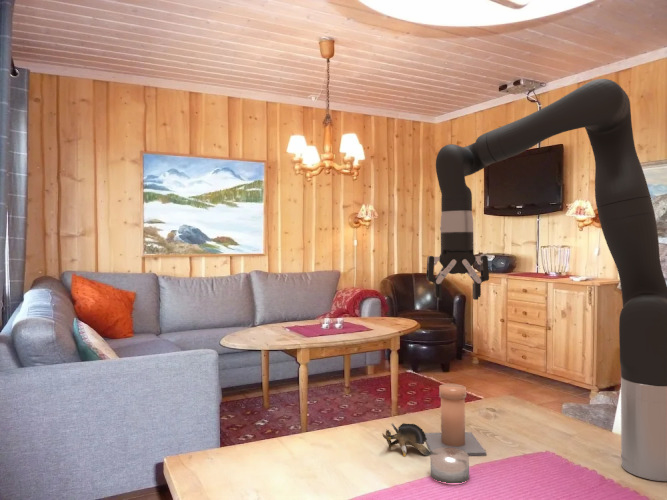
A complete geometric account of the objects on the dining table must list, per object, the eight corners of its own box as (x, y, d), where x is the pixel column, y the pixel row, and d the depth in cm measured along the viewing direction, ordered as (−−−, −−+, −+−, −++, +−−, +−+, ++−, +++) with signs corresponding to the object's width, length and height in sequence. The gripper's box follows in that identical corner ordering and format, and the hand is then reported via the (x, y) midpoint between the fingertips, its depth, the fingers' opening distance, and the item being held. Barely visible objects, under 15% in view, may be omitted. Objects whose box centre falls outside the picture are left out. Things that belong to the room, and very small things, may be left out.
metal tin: (463, 467, 96) (463, 447, 96) (473, 485, 89) (473, 463, 89) (427, 468, 96) (427, 447, 96) (434, 485, 89) (434, 463, 89)
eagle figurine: (383, 454, 100) (427, 450, 97) (380, 418, 104) (423, 413, 101) (392, 461, 106) (434, 458, 103) (389, 427, 110) (430, 423, 107)
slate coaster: (471, 434, 112) (471, 432, 112) (486, 455, 101) (486, 452, 101) (422, 435, 112) (422, 432, 112) (432, 456, 101) (432, 453, 101)
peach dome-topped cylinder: (462, 436, 110) (462, 383, 110) (469, 447, 104) (469, 391, 104) (437, 437, 110) (437, 383, 110) (442, 447, 104) (442, 391, 104)
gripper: (429, 230, 114) (430, 301, 114) (492, 230, 114) (492, 301, 114) (423, 231, 121) (424, 298, 121) (482, 231, 121) (482, 297, 121)
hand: (457, 299), depth 118 cm, fingers open, 8 cm apart
